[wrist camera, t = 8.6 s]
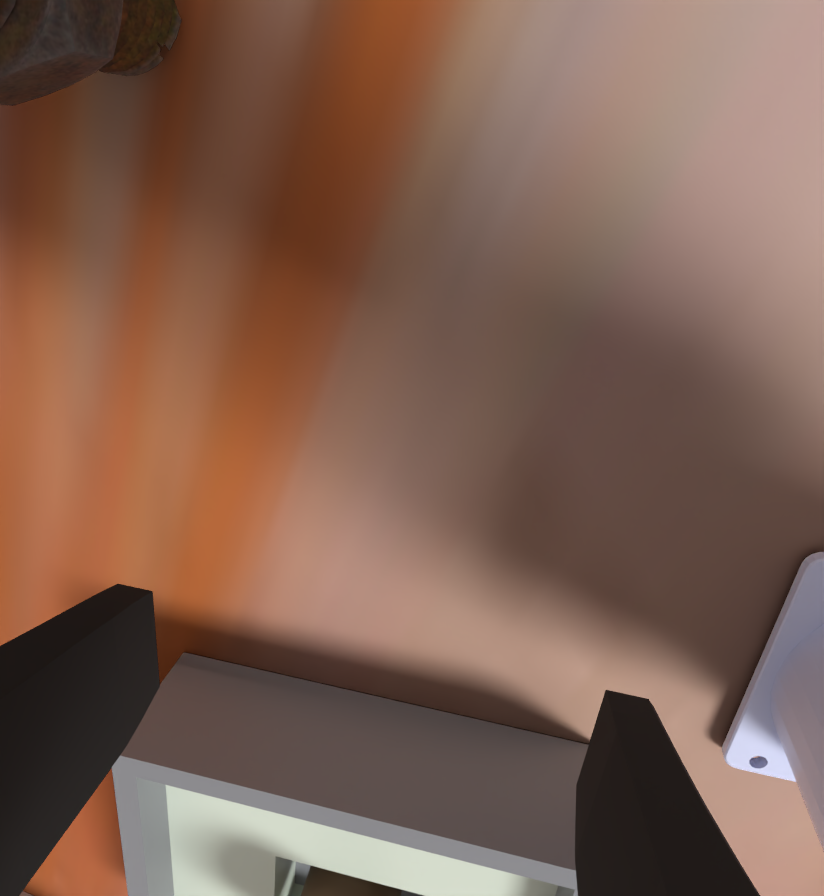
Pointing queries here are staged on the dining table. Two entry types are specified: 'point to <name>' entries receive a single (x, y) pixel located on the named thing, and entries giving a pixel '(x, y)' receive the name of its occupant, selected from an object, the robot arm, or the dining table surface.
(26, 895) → the lighter
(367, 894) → the peg
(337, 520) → the dining table surface
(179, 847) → the bore box
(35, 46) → the bolt
